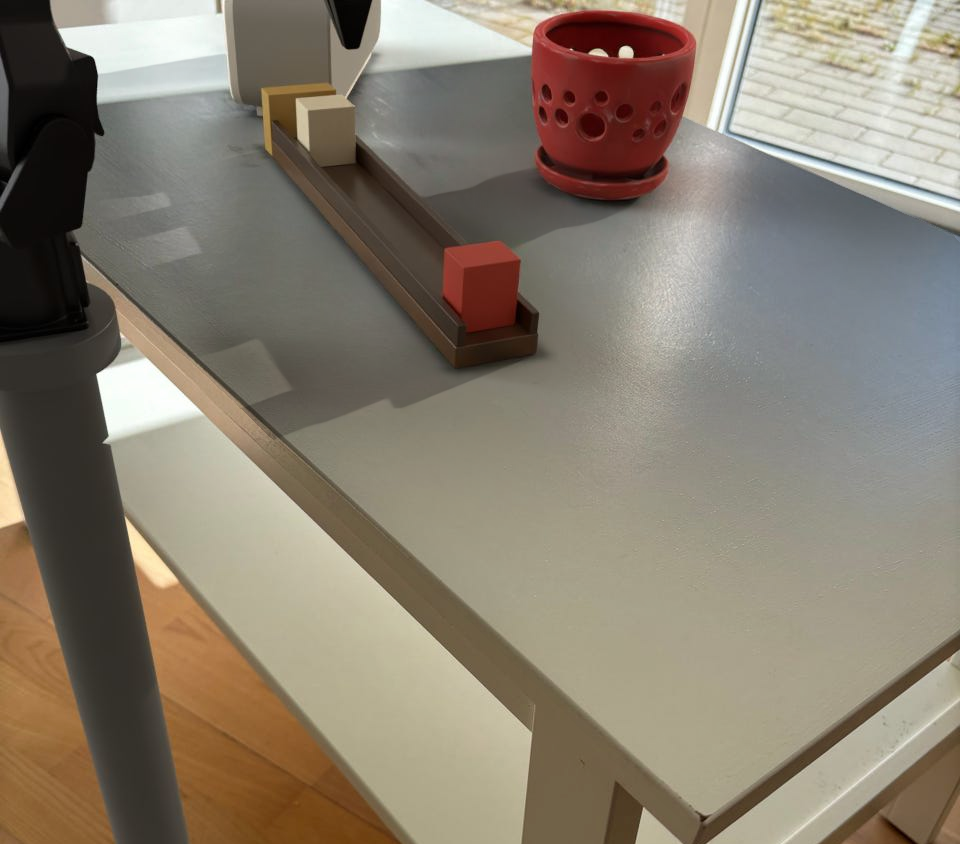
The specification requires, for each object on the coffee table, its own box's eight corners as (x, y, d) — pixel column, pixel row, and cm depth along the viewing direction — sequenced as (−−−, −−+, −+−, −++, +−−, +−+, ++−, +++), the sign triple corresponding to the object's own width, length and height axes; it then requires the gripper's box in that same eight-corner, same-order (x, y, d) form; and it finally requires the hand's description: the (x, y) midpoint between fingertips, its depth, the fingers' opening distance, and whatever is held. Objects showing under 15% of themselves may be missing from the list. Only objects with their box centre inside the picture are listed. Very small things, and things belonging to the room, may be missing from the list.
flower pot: (538, 145, 100) (552, -1, 92) (679, 168, 99) (707, 20, 90) (505, 197, 91) (517, 39, 83) (660, 223, 89) (688, 64, 81)
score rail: (454, 369, 70) (456, 326, 68) (272, 156, 94) (269, 120, 92) (536, 354, 72) (541, 312, 70) (337, 150, 96) (336, 114, 94)
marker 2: (460, 334, 70) (463, 267, 67) (441, 313, 72) (444, 247, 69) (515, 325, 72) (521, 259, 69) (495, 304, 74) (500, 239, 71)
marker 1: (310, 168, 89) (307, 110, 86) (298, 155, 91) (295, 98, 88) (356, 163, 90) (355, 106, 87) (343, 150, 92) (342, 94, 89)
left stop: (272, 156, 94) (268, 95, 91) (265, 148, 95) (260, 87, 92) (337, 150, 96) (336, 89, 93) (330, 142, 98) (328, 82, 94)
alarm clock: (296, 39, 119) (291, -89, 111) (381, 48, 119) (381, -80, 111) (231, 123, 99) (218, -26, 91) (332, 134, 99) (328, -14, 91)
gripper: (529, -199, 66) (507, 80, 77) (405, -237, 78) (401, 8, 88) (357, -203, 62) (359, 91, 72) (254, -243, 74) (269, 15, 84)
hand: (350, 48), depth 79 cm, fingers closed
